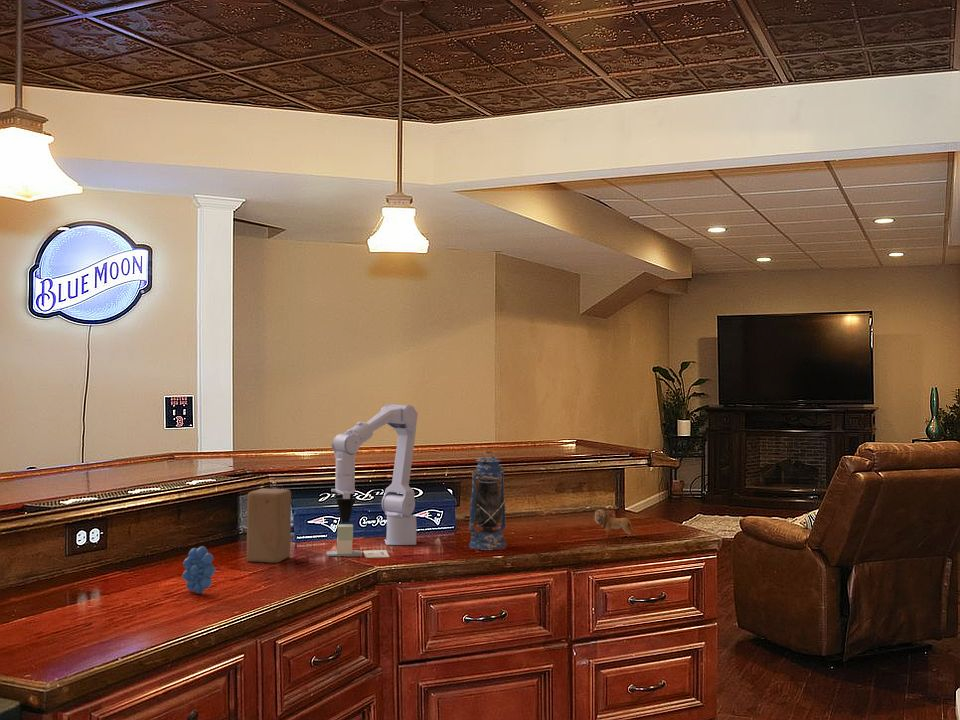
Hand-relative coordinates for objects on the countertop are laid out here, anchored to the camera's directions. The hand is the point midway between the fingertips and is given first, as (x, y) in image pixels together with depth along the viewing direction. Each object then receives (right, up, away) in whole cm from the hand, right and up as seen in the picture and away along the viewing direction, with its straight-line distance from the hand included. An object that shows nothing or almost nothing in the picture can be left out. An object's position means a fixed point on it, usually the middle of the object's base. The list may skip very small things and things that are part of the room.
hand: (344, 519), depth 297 cm
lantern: (+43, -11, +15) cm, 47 cm away
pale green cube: (0, -6, 0) cm, 6 cm away
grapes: (-29, -10, -50) cm, 58 cm away
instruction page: (+9, -11, +1) cm, 14 cm away
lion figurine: (+85, -12, +35) cm, 93 cm away
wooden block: (-21, -10, -8) cm, 25 cm away
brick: (0, -10, 0) cm, 10 cm away
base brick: (0, -11, 0) cm, 11 cm away
